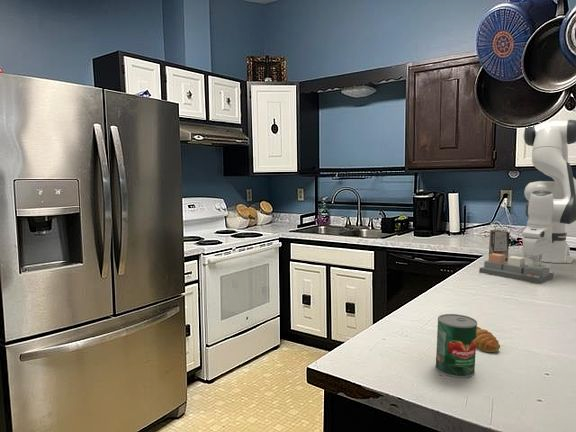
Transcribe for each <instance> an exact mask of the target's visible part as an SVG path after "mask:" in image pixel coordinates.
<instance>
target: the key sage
mask: <svg viewBox="0 0 576 432" xmlns="http://www.w3.org/2000/svg"><path fill="white" fill-rule="evenodd" d="M527 265H528V268H531V269H537V270H544V269H546V268H547V267H546V266H547V265H545V264H541V265H538V266H534V265H533V263H530V264H527Z"/></svg>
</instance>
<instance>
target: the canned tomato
mask: <svg viewBox="0 0 576 432" xmlns="http://www.w3.org/2000/svg"><path fill="white" fill-rule="evenodd" d="M477 327H478V321H477V320H476V319H475V318H473V317H470V316H467V315H463V314H456V313H445V314H441V315H439V316H438V317H437V331H436V354H435V368H436V370H437V371H438V372H439V373H441V374H443V375H445V376H447V377H448V376H449V377H451V378H458V379H462V378H463V379H467V378H470V377H471V378H472V377H473V376H474V375H475V373H476V370H475V369H476V336H477Z"/></svg>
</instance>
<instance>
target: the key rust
mask: <svg viewBox="0 0 576 432" xmlns="http://www.w3.org/2000/svg"><path fill="white" fill-rule="evenodd" d="M488 260H489V262H494V263H500V264H501V263H504V262H505V255H503V254H496V253H493V254H489V253H488Z"/></svg>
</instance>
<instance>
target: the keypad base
mask: <svg viewBox="0 0 576 432" xmlns="http://www.w3.org/2000/svg"><path fill="white" fill-rule="evenodd" d="M483 265H484V266H482V267H479V271H478V272H479V273H480V274H485V275H490V276H496V277H503V278H506V279H507V278H508V279H513V280H516V281H517V280H518V281H524V282H529V283H533V284H534V283H535V284H539V285H541V284H543V283H546V282H547V281H550V280H553V279H554V275H555V273H553V272H551V268H549V267H546V269H544V270H537V269H531V268H528V265H529V264H525V266H521V267H518V266H512V265H508V262H506V261H505V262H504V263H501V264H500V263H494V262H489V259H488V260H485V261H484V262H483Z"/></svg>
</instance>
